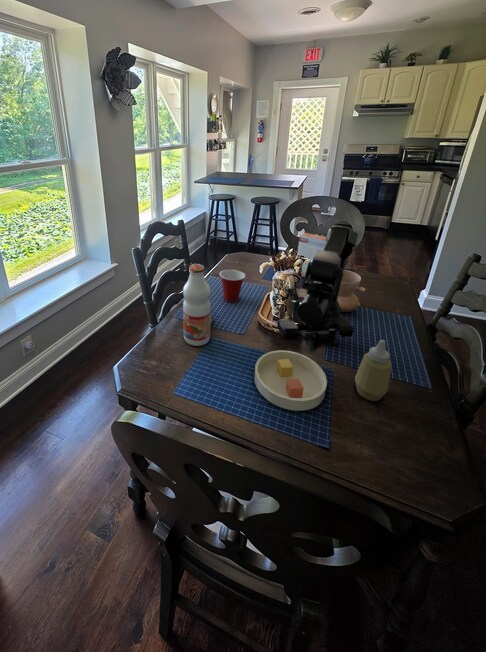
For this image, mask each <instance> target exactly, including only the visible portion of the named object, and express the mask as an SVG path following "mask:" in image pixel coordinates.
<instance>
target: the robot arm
mask: <svg viewBox="0 0 486 652" xmlns="http://www.w3.org/2000/svg"><path fill="white" fill-rule="evenodd" d="M359 235H360V233H358V232H356V231H355V230H352V228H351V227H349V226H342V225H336V224H335V225H331V228H328V230H327V234H326V236H325V237H326V242H327V243H326V245H325V247H324V250H323V251H322V252H321V253H318V254H316V255H315V256H314V258H313V259H312V261H309V263H308V266H307V270H306V273H305V277H303V281H302V285H301V289H304V290H307V293H306V295H305V296H304V298H303V299H302V300H301V301H298V299H297V300H291V301H290V312H292V313H293V314H297V316H298V318H299V319H300V320H301V321H302V322H297V323H296V322H295V320H294V318H280V319H278V321H277V325H276V327H277V329H278V331H279V334H280V335H281V337H282V339H284V340H297V339H298V338H299V337H300V336H301V338H302V339H303V340H304V341H305V344H306V348H307V353H309V355H313V354H314V353H315V352H316V351H317V350H318V349H319V348H320V347H321V346H326V345H327V346H329V345H330V346H337V345H338V343H337V341H336V335H337V333H338V334H339V336H340V337H342V338H346V337H347V338H350V337H353V335H354V331H355V330H354V326H353V325H352V324H351V322H349V321H348V319H347V318H346V317H344V316H342V314H341V312H340V311H341V307H340V305H339V303H338V301H337V300H338V295H339V290H340V286H341V282H342V278H343V275H344V273H343V271H344V270H345V267H346V261H347V259H348V258H349V257H350V256H351V255H352V254H353V252H354V250H355V248H357V247H358V244H359V243H358V242H359V238H360V237H359ZM309 275H310V277H309ZM308 278H309V279H308ZM309 280H310V281H309ZM312 281H313V282H312Z"/></svg>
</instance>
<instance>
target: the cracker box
mask: <svg viewBox="0 0 486 652" xmlns="http://www.w3.org/2000/svg"><path fill="white" fill-rule="evenodd" d="M326 237H327V236H323V235H318V234H313V233H308V232H303V233H301V234H300V235H299V239H298V247H297V254H300V255H302V256H304V257H306V258H309V259H310V261H312V259H313V258H314V256H315V255H316V254H318V253H321V252H322V251H323V250H324V247H325V245H326V243H327V242H326ZM308 263H309V262H306V263H304V264H303V266H302V272H301V274H302V275H301V276H300V277H301V278H304V277H305V273H306V270H307V266H308ZM309 277H310V275H309ZM308 280H310V279H309V278H308Z"/></svg>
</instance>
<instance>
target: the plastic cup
mask: <svg viewBox="0 0 486 652" xmlns="http://www.w3.org/2000/svg"><path fill="white" fill-rule="evenodd" d="M219 277H220V280H221V286H222V293H223V298H224V300H225V301H226V302H228V303H235V302H237V301H238V299H239V297H240V293H241V289H242V285H243V282H244V280H245V278H246V273H244V272H243V271H240V270H236V269H224V270H220V272H219Z"/></svg>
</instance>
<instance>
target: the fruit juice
mask: <svg viewBox="0 0 486 652" xmlns="http://www.w3.org/2000/svg"><path fill="white" fill-rule="evenodd" d="M188 271H189V276H188V278H187V281H186V282H185V284H184V286H183V289H182V294H183V297H184V299H183V302H182V320H183V322H182V323H183V325H182V326H183V340H184V341H185V342H186V343H187V344H188V345H190V346H194V347H200V346H205V345H206V344H208V343H209V341H210V340H211V339H210V338H211V324H210V317H212V315H211V314H212V313H211V312H212V311H211V310H212V309H211V308H212V306H211V300H210V296H211V286H210V285H209V283H208V282H207V281H206V279H205V275H204V273H205V266H204V265H203V264H201V263H192V264H190V265H189V267H188Z"/></svg>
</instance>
